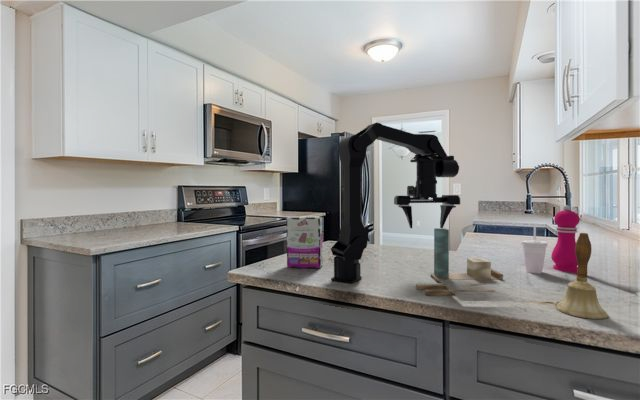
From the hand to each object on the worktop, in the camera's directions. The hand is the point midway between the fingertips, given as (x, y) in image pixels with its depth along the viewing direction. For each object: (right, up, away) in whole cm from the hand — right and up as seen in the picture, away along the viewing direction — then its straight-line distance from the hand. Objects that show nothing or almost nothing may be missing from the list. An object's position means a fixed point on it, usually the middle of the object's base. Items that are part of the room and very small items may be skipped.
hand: (426, 228), depth 103 cm
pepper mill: (+40, -13, -4) cm, 42 cm away
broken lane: (0, -14, -21) cm, 25 cm away
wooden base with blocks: (+7, -13, -11) cm, 19 cm away
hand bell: (+20, -14, -35) cm, 43 cm away
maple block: (+11, -12, -11) cm, 20 cm away
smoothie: (+29, -13, -6) cm, 32 cm away
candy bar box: (-38, -13, +7) cm, 40 cm away
